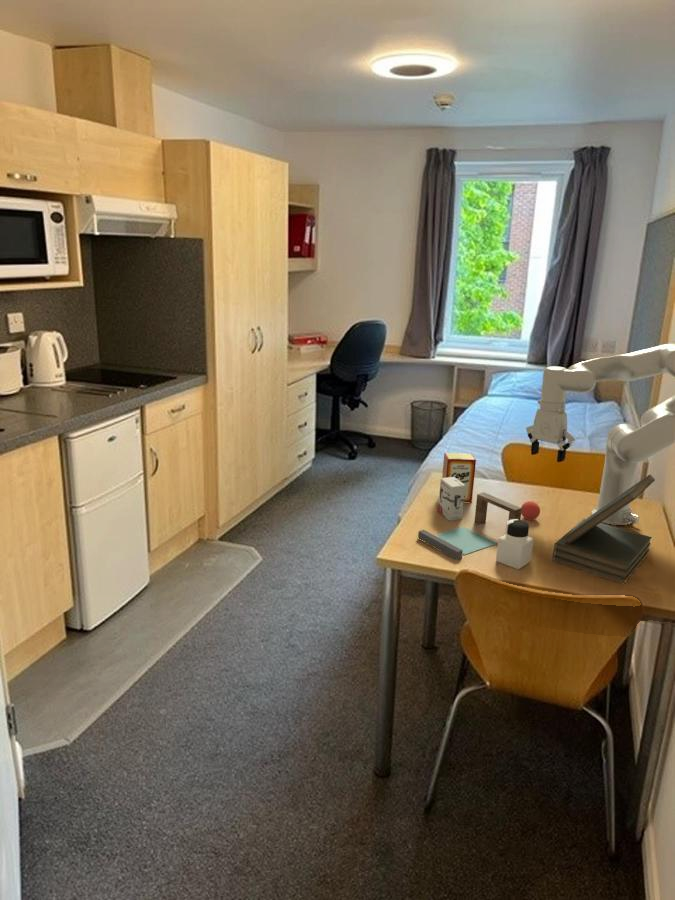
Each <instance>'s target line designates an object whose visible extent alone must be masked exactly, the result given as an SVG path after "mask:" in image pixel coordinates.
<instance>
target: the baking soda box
mask: <svg viewBox="0 0 675 900" xmlns="http://www.w3.org/2000/svg"><path fill="white" fill-rule="evenodd" d="M443 454H444V455H443V463H442V464H443V465H442V477H441V478H447V477H455V478H456V479H458V480H459V481H460V482H462V483H463V484H465V493H464V502H470V503H469V504H472V503H473V496H474V495H473V494H474V483H475V472H476V465H477V459H476V457H475V456H474V455H473V454H472V453H465V452H463V453H460V452H444V453H443Z"/></svg>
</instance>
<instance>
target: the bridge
mask: <svg viewBox="0 0 675 900" xmlns="http://www.w3.org/2000/svg"><path fill="white" fill-rule="evenodd" d="M488 504H490V505H493V506H496V507H497V508H500V509H502V510H505V511H507V512H508V519H507V521H509V520H512V519H519V520H522V519H521V517H522V514H521V511H522V508H521V507H520V506H518V505H515V504H513V503H511V502H508V501H506V500H503V499H501V498H499V497H496V496H493V495H491V494H489V493H487V492H480V493H477V495H476V504H475V513H474V514H475V515H474V521H473V522H474V524H476V525H479V526H480V525H483V524H486V522H487V516H488V515H487V512H488V506H489V505H488Z"/></svg>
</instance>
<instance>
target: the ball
mask: <svg viewBox="0 0 675 900" xmlns="http://www.w3.org/2000/svg"><path fill="white" fill-rule="evenodd" d="M520 508H522V511H521V517H523V518H524V519H525V520H527V521H528V520H529V521H533V520H536V519H537V518H538V517H539V516H540V514H541V508H540V506H539V504H538V503H537V502H535V501H532V500H530V501H526V502H523V504H522V505H521V507H520Z"/></svg>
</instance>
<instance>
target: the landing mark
mask: <svg viewBox="0 0 675 900" xmlns="http://www.w3.org/2000/svg"><path fill="white" fill-rule="evenodd" d="M435 535H436V536H438V538H440V539H442V540H444V541H446V542H448V543H450V544H452V545H454V546H456V547H457V548H459V549H461V550H463V552H462V556H463V555H464V556H466V555H468V554H471V553H474V552H478V551H480V550H484V549H487V548H489V547H492V546H495V545H498V541H497V542H496V541H494V540H492V539H490V538H488V537H487V536H484V535H482V534H480V533H478V532H476V531H474V530H473V529H469V528H468V527H466V526H460V527H457V528H454V529H450V530H447V531H443V532H440V533H437V534H435Z"/></svg>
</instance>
